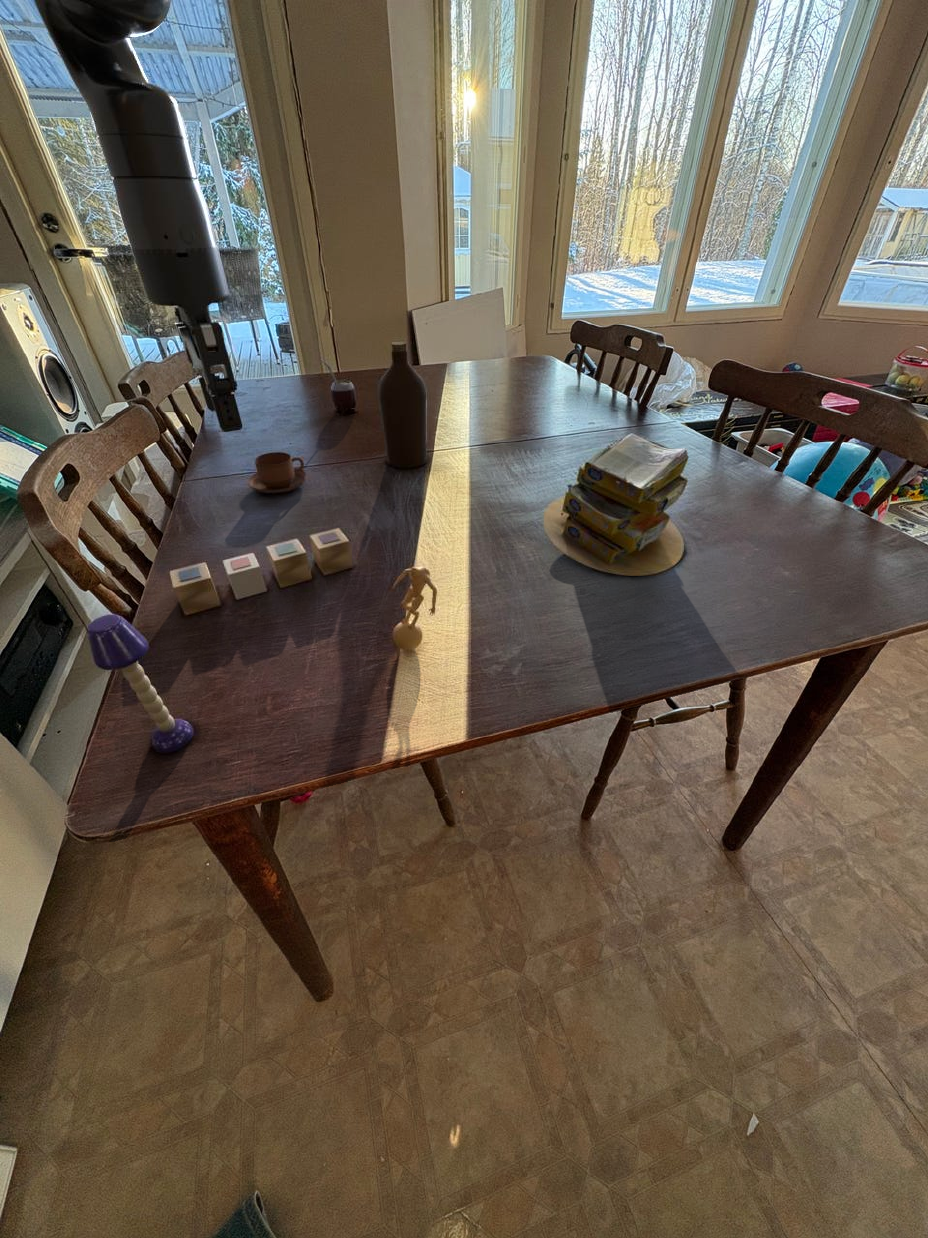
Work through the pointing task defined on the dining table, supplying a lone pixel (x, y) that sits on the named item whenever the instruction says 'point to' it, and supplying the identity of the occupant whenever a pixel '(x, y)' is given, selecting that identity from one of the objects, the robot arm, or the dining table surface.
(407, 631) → the figurine
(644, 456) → the stacked food boxes
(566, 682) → the dining table surface
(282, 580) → the block row
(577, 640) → the dining table surface
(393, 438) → the olive oil
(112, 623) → the toy lamp
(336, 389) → the mate gourd
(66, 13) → the robot arm
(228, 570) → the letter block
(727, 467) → the dining table surface
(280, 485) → the cup and saucer
